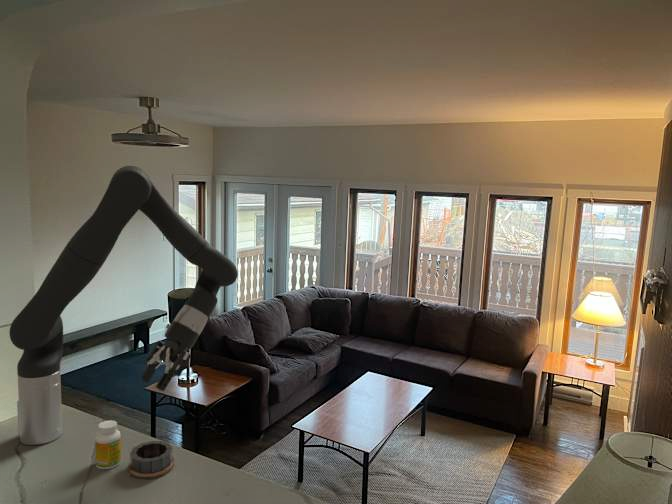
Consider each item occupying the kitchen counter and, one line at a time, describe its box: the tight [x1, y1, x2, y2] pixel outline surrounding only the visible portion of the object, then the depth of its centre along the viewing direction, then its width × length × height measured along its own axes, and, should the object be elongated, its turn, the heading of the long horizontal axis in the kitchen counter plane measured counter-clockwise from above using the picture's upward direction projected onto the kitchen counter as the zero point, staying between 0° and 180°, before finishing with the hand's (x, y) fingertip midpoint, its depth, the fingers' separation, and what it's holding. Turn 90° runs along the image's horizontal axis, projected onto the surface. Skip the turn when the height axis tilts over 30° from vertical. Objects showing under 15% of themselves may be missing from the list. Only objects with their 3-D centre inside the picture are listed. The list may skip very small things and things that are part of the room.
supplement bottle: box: [94, 420, 122, 470], centre depth 117 cm, size 5×5×10 cm
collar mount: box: [127, 440, 175, 480], centre depth 117 cm, size 10×10×4 cm
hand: (151, 385), depth 124 cm, fingers open, 8 cm apart
